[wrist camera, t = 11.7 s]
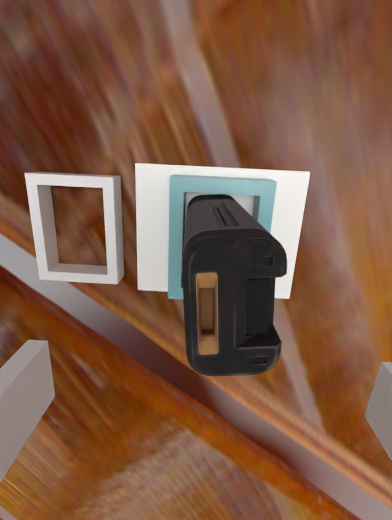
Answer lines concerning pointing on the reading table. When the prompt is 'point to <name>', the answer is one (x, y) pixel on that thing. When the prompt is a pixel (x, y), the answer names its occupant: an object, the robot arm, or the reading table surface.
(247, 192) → the dock
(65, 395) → the reading table surface
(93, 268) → the white rectangular frame
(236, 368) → the electronic device
